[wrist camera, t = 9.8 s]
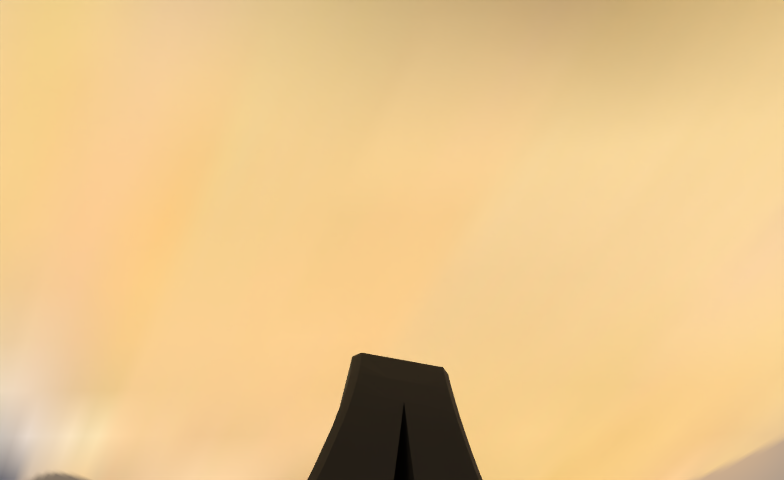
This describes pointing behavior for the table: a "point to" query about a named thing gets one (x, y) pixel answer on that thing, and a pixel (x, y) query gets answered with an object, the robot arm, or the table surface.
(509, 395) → the table surface
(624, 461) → the table surface
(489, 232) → the table surface
